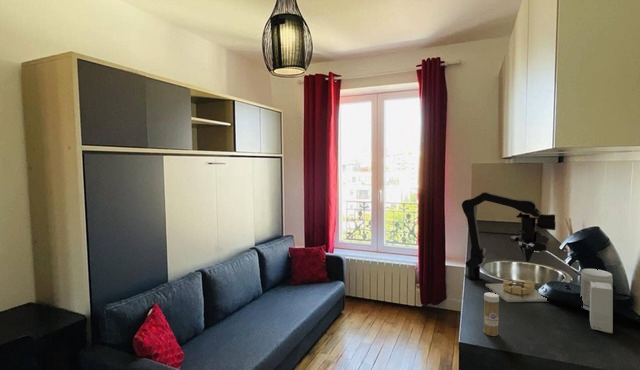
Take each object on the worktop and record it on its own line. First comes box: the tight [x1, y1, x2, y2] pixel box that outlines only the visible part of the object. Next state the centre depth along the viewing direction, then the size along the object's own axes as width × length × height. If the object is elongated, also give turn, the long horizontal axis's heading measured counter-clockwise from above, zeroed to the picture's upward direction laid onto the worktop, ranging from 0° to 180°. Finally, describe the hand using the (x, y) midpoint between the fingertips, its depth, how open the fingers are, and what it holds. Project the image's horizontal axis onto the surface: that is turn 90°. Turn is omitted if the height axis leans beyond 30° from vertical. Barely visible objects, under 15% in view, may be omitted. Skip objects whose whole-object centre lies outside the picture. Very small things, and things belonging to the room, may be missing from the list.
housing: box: [485, 281, 548, 303], centre depth 149 cm, size 18×18×4 cm
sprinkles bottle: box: [482, 292, 500, 337], centre depth 114 cm, size 5×5×13 cm
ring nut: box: [502, 279, 536, 295], centre depth 149 cm, size 14×10×3 cm
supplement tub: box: [580, 268, 614, 312], centre depth 132 cm, size 10×10×15 cm
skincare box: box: [589, 281, 614, 334], centre depth 118 cm, size 8×6×15 cm
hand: (527, 261), depth 155 cm, fingers closed
